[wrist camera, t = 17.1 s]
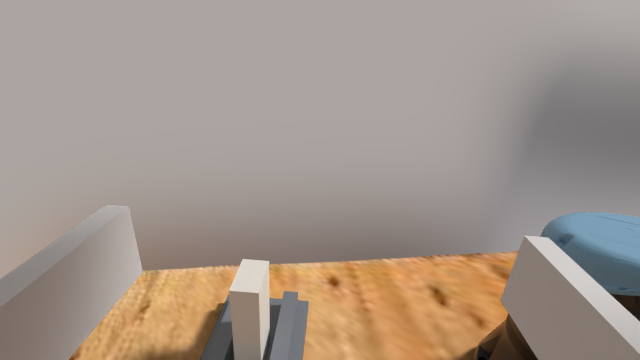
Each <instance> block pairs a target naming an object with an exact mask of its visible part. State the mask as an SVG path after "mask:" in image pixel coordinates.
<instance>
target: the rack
mask: <svg viewBox="0 0 640 360" xmlns="http://www.w3.org/2000/svg"><path fill="white" fill-rule="evenodd" d="M308 303H309V301H299V300H298V292H288V291H284V294H283V299H274V298H269V306H270V338H269V342H268V347H267V351H266V355H265V360H303V352H304V343H305V334H306V324H307V315H308ZM200 360H234V347H233V335H232V322H231V310H230V297H229V295H228V297H227V299H226V301H225V304H224V306H223V308H222V311H221V313H220V315H219V317H218V320H217V322H216V324H215V327H214V329H213V331H212V334H211V336H210V338H209V341H208V343H207V345H206V348H205V350H204V352H203V354H202V357H201V359H200Z"/></svg>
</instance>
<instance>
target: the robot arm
mask: <svg viewBox="0 0 640 360" xmlns="http://www.w3.org/2000/svg"><path fill="white" fill-rule="evenodd" d="M142 272H143V271H142V267H141V262H140V258H139V253H138V248H137V244H136V239H135V234H134V229H133V225H132V220H131V215H130V211H129V207H125V206H113V205H106V206H104V207H103V208H101V209H100V210H99V211H97V212H96V213H94V214H93V215H91V216H90V217H88V218H87V219H86V220H84V221H83V222H81V223H80V224H78V225H77V226H76V227H74V228H73V229H71V230H70V231H68V232H67V233H66V234H65V235H63V236H61V237H60V238H58V239H57V240H56V241H54V242H53V243H52V244H50V245H48V246H47V247H46V248H44V249H43V250H41V251H40V252H38V253H37V254H36V255H34V256H33V257H31V258H30V259H28V260H27V261H26V262H24V263H23V264H21V265H20V266H19V267H17V268H16V269H14V270H13V271H12V272H10V273H9V274H7V275H6V276H4V277H3V278H1V279H0V360H68V359H69V358H70V357H71V356H72V355H73V354H74V352H75V351H76V350H77V349H78V348H79V346H80V345H81V344H82V343H83V342H84V341H85V339H86V338H87V337H88V336H89V335H90V334H91V332H92V331H93V330H94V329H95V328H96V326H97V325H98V324H99V323H100V322H101V321H102V319H103V318H104V317H105V316H106V315H107V314H108V312H109V311H110V310H111V309H112V308H113V306H114V305H115V304H116V303H117V302H118V301H119V299H120V298H121V297H122V296H123V295H124V294H125V292H126V291H127V290H128V289H129V288H130V286H131V285H132V284H133V283H134V282H135V281H136V279H137V278H138V277H139V276H140V275H141V273H142ZM501 302H502V304H503V305H504V307H505V308H506V310H507V311H508V313H509V314H508V316H507V319H506V320H505V321H504V322H503V323H501V324H500V325H499V326H498V327H497V328H496V329H494V330H493V331H492V332H491V333H490V334H488V335H487V336H486V337H485V338H484V339H483V340H482V341H481V342H480V343H479V345H478V347H477V348H476V351H475V354H474V356H473V359H472V360H640V218H638V217H633V216H627V215H620V214H611V213H601V212H600V213H599V212H581V213H571V214H566V215H563V216H560V217H558V218H556V219H554V220H552V221H551V222H549V223H548V224H547V225H546V227H545V228H544V230H543V232H542V234H541V236H540V237H534V236H524V239H523V241H522V244H521V246H520V249H519V252H518V254H517V257H516V260H515V262H514V265H513V268H512V270H511V273H510V276H509V278H508V281H507V284H506V286H505V289H504V292H503V294H502V297H501Z"/></svg>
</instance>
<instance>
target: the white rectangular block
mask: <svg viewBox="0 0 640 360" xmlns="http://www.w3.org/2000/svg"><path fill="white" fill-rule="evenodd" d="M229 297H230V310H231V322H232V335H233V347H234V360H265V355H266V351H267V347H268V342H269V338H270V306H269V261H261V260H248V259H243V260H242V262H241V264H240V267H239V269H238V271H237V274H236V276H235V278H234V280H233V283H232V285H231V287H230V290H229Z"/></svg>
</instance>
